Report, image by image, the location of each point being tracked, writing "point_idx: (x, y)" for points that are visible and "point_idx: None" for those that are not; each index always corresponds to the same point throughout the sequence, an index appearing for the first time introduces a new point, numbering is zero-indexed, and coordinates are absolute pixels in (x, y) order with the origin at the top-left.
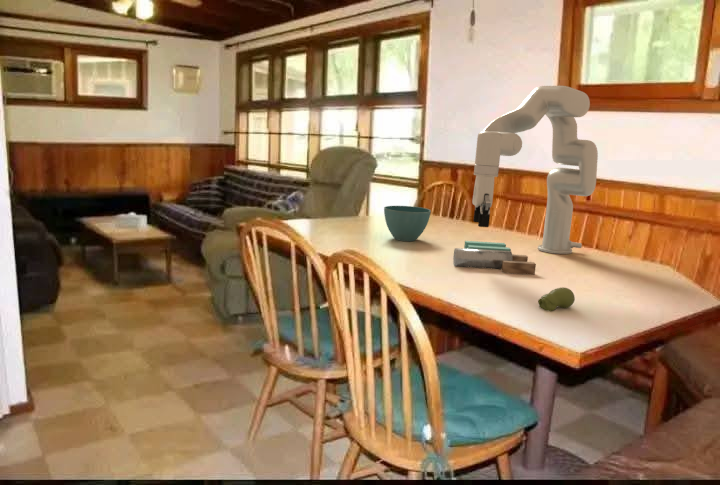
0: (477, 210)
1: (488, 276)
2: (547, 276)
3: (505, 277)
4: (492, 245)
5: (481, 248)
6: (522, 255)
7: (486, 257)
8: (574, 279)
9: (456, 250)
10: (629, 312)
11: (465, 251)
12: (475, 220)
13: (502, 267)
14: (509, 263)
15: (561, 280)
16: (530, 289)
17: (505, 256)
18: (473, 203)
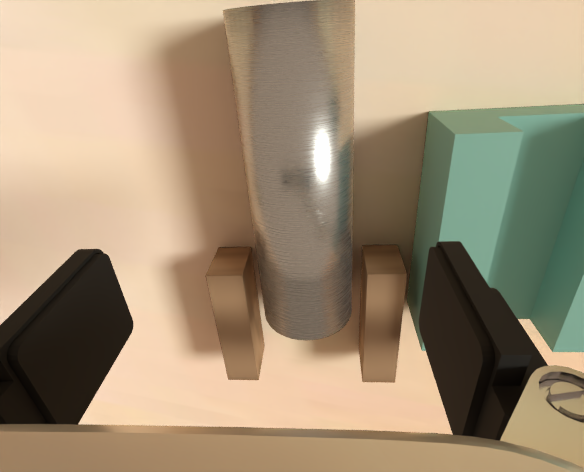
0: (487, 385)
1: (123, 179)
2: None
3: (144, 244)
4: (570, 286)
5: (440, 211)
6: (385, 369)
7: (252, 209)
8: (225, 426)
9: (247, 11)
10: None
11: (252, 86)
12: (431, 266)
13: (232, 258)
14: (211, 294)
15: (194, 395)
16: (14, 293)
17: (266, 300)
18: (274, 461)
